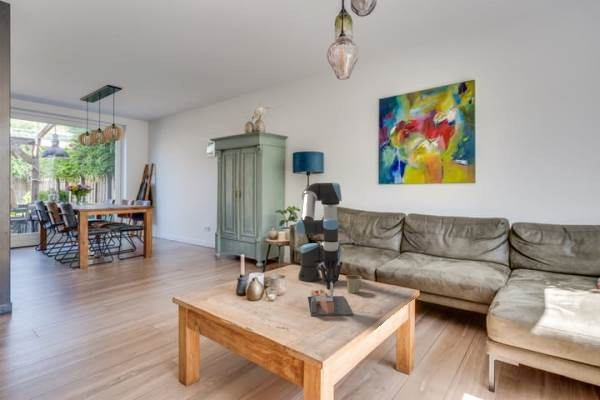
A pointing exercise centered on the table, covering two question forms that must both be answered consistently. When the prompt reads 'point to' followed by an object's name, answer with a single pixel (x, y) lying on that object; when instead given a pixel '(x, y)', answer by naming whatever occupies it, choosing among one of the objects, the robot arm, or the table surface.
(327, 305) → the link
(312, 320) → the table surface
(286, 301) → the table surface
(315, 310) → the pintle base
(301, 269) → the robot arm
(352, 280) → the flower pot
